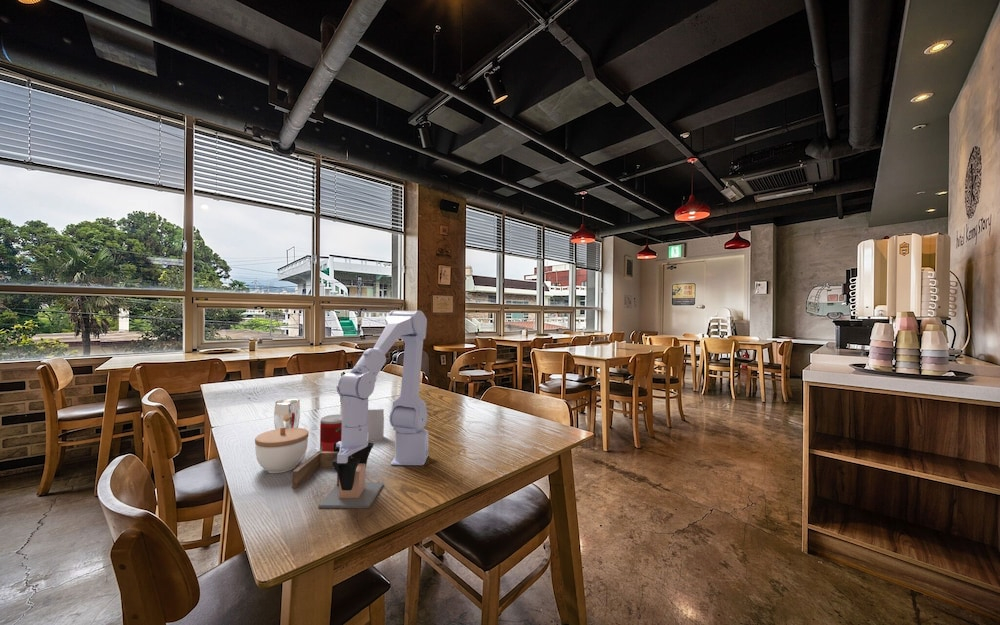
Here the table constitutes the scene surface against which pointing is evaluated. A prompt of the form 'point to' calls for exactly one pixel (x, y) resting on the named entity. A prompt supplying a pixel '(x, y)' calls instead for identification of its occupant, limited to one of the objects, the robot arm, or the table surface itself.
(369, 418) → the grey rectangular block
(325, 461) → the brown piece
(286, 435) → the lidded bowl
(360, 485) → the block
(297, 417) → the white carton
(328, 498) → the coaster
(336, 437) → the canned food
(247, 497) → the table surface
